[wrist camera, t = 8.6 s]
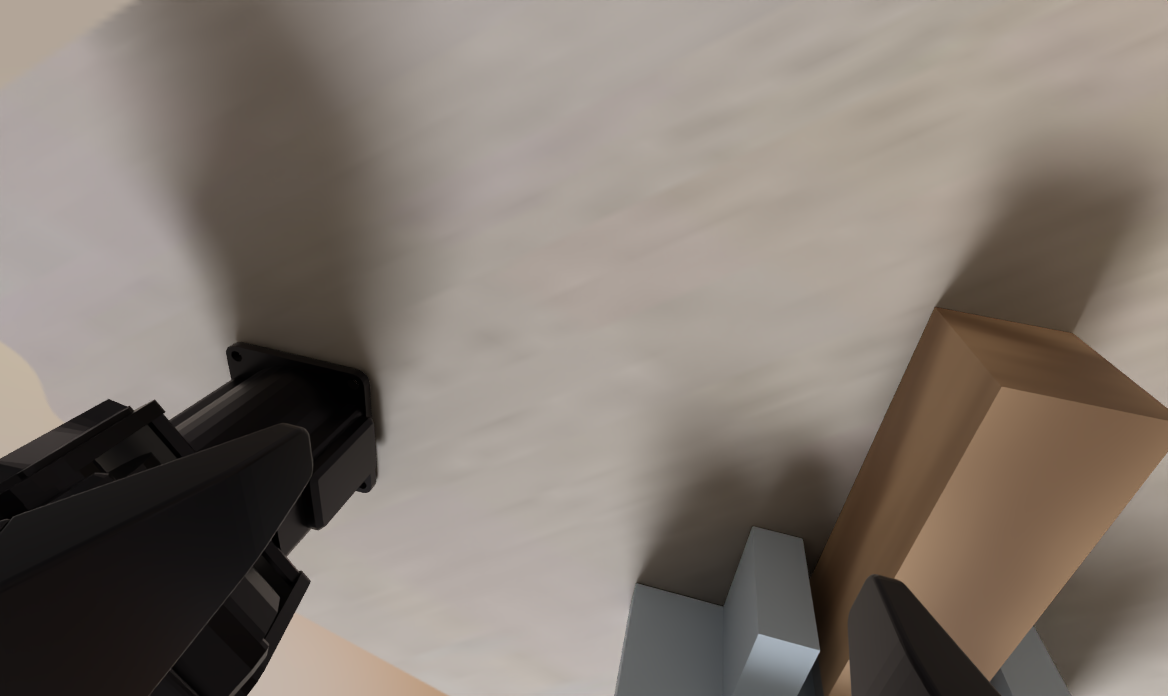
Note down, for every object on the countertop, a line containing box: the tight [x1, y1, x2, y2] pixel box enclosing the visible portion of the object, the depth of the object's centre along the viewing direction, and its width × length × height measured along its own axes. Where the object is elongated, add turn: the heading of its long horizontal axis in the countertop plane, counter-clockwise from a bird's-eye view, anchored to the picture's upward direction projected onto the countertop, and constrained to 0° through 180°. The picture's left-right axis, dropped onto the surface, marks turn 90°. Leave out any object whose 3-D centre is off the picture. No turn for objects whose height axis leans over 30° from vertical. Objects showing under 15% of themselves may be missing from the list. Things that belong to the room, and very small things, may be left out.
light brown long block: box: [809, 307, 1168, 696], centre depth 19 cm, size 4×14×5 cm, turn 173°
